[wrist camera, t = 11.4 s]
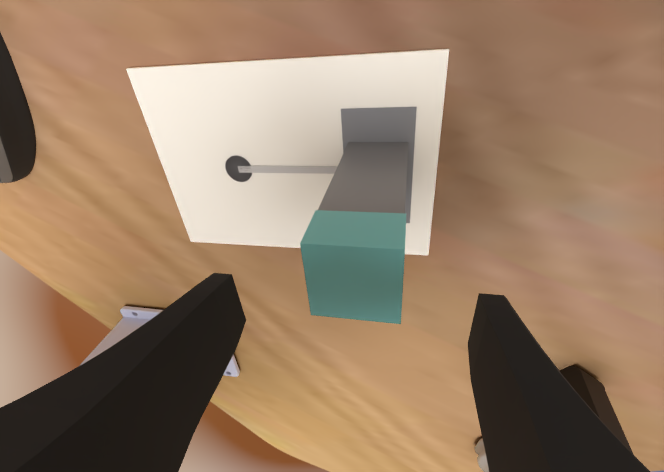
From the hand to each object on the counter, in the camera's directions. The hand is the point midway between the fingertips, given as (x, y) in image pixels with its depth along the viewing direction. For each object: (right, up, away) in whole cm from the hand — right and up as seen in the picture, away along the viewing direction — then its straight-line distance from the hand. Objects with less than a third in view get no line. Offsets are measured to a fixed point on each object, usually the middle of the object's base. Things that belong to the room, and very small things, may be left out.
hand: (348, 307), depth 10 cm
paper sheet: (-3, +6, +9) cm, 11 cm away
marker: (+2, +6, +8) cm, 10 cm away
